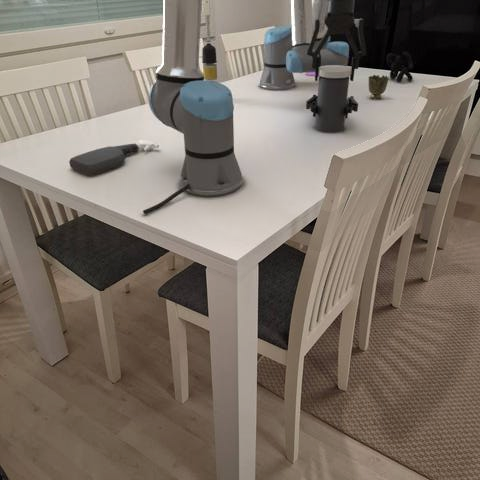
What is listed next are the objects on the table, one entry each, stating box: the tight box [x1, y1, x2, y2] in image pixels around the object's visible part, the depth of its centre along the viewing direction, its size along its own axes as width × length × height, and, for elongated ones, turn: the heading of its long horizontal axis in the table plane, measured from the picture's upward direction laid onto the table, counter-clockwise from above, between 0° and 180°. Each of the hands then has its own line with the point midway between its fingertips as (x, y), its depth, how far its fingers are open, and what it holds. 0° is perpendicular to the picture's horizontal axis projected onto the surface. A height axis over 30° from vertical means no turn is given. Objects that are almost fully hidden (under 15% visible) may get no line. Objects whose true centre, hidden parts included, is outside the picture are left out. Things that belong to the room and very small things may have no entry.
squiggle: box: [385, 51, 414, 83], centre depth 198 cm, size 11×10×15 cm
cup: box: [368, 74, 390, 99], centre depth 173 cm, size 8×7×8 cm
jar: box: [314, 75, 350, 134], centre depth 141 cm, size 9×9×18 cm
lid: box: [318, 65, 352, 78], centre depth 136 cm, size 10×10×2 cm
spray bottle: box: [68, 139, 160, 177], centre depth 124 cm, size 3×11×24 cm
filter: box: [201, 14, 218, 82], centre depth 171 cm, size 6×6×30 cm
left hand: (333, 79), depth 137 cm, fingers closed on lid, 10 cm apart
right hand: (330, 113), depth 138 cm, fingers closed on jar, 9 cm apart
